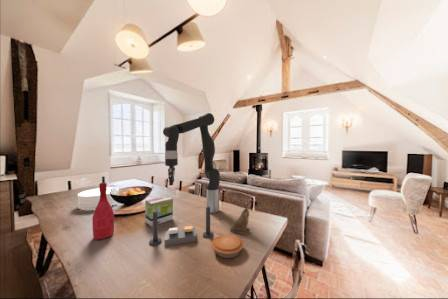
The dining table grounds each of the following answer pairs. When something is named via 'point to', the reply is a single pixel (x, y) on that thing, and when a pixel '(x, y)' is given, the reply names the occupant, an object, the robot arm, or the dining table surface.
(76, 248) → the dining table surface
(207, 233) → the dark grey peg stand
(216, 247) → the pie
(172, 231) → the white slab
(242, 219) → the worn brown figurine
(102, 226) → the wine bottle
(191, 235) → the large grey rectangular block
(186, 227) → the orange slab
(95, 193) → the plate stack
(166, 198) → the tea box
